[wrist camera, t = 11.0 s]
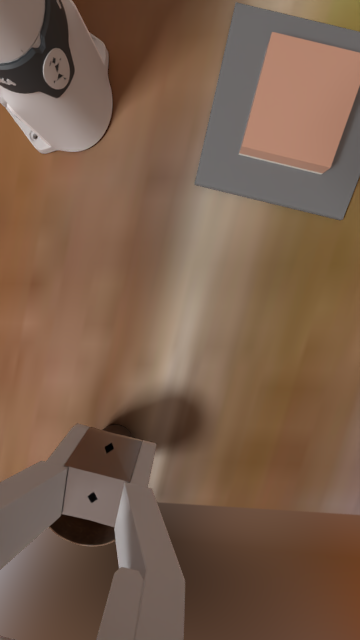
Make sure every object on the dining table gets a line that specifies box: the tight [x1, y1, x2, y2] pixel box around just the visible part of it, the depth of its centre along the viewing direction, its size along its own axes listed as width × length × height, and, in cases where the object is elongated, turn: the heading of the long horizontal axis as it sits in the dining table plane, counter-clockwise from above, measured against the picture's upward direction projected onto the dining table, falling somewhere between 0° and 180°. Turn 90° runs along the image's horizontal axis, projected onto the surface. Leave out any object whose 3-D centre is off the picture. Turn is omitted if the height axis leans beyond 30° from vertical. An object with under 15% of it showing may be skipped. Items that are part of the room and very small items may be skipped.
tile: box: [239, 32, 360, 174], centre depth 32 cm, size 2×14×14 cm
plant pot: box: [49, 425, 132, 546], centre depth 42 cm, size 15×15×16 cm
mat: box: [195, 3, 360, 220], centre depth 34 cm, size 24×26×1 cm
